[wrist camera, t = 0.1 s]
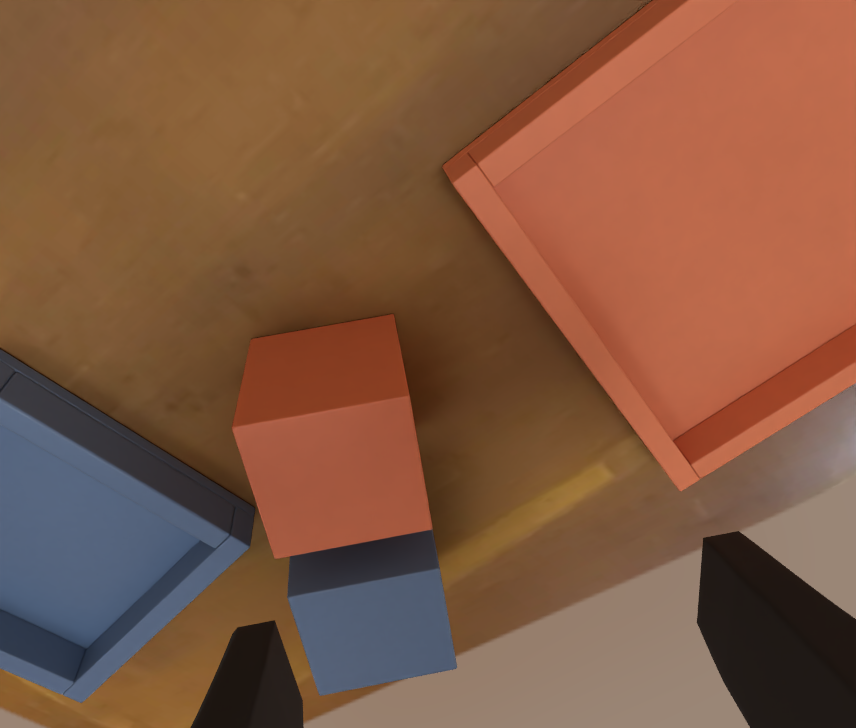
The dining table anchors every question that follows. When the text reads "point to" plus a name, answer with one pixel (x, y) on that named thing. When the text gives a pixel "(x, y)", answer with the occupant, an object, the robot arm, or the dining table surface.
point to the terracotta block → (331, 437)
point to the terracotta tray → (691, 217)
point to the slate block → (371, 612)
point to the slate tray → (96, 536)
